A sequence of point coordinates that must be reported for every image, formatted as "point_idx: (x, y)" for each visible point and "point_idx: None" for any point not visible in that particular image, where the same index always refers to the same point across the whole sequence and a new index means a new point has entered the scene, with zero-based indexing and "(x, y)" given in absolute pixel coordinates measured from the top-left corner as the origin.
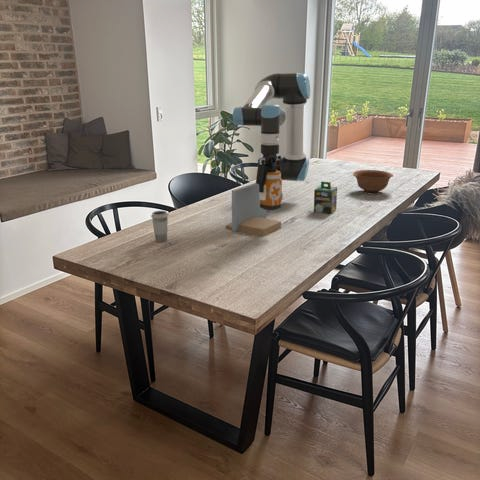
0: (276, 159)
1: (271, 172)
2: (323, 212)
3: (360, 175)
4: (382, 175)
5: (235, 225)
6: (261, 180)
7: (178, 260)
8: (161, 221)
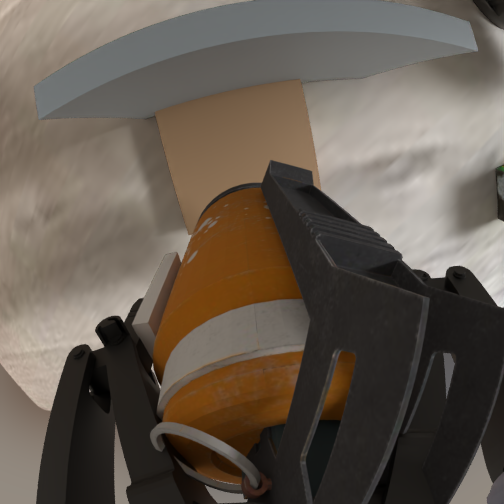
0: (491, 502)
1: (223, 480)
2: (498, 198)
3: None
4: None
5: (136, 117)
6: (100, 407)
7: None
8: None
